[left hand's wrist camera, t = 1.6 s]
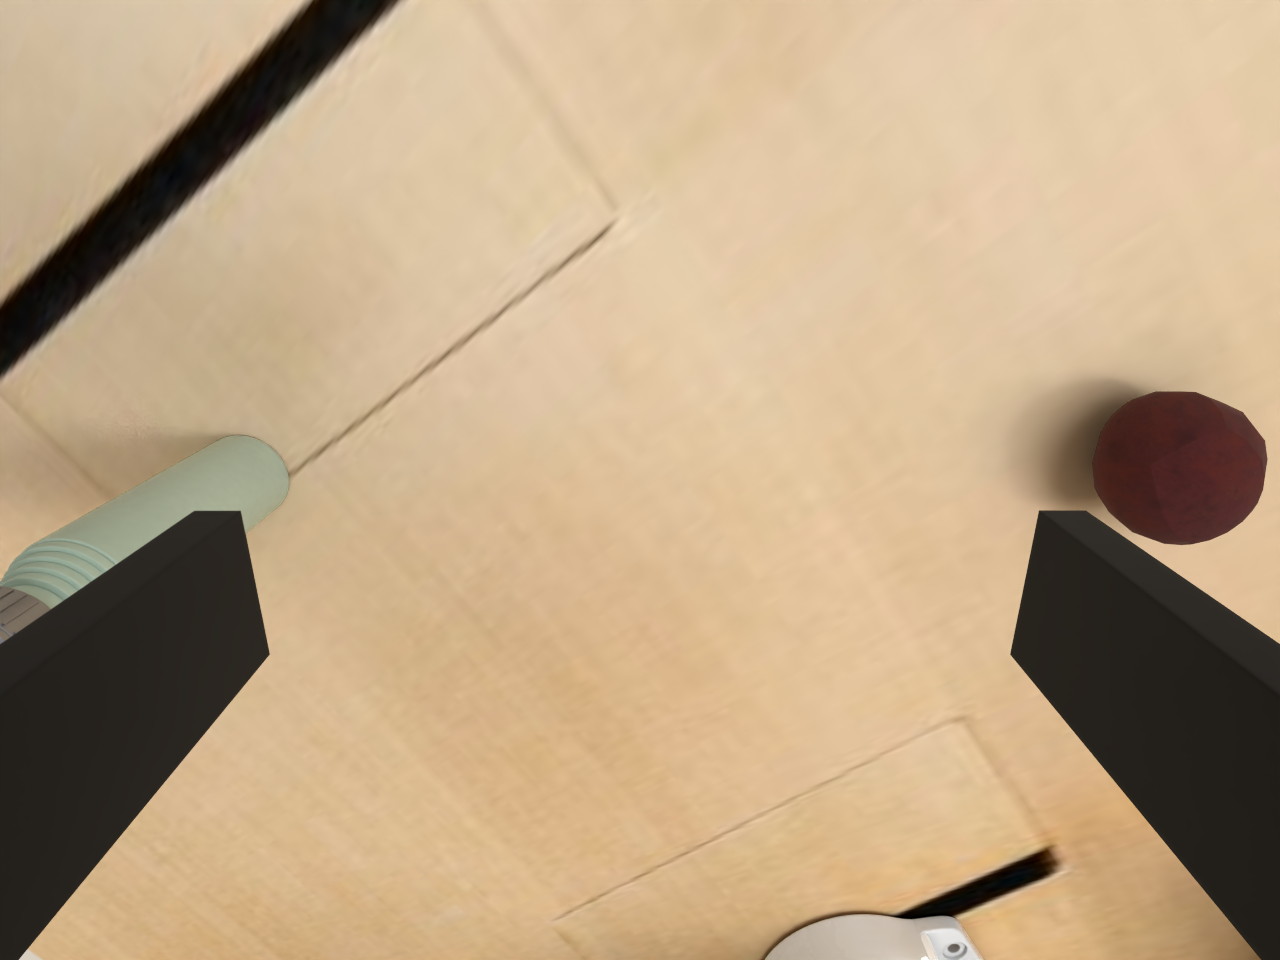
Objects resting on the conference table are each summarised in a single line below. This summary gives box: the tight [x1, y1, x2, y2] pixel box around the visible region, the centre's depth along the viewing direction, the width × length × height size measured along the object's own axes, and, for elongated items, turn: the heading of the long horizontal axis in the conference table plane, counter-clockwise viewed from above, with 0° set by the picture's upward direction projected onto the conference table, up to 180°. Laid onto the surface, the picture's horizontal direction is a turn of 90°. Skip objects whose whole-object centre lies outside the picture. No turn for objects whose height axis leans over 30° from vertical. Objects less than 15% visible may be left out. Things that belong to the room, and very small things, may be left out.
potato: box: [1093, 392, 1267, 545], centre depth 38 cm, size 7×8×7 cm
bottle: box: [0, 435, 289, 609], centre depth 33 cm, size 5×5×18 cm
